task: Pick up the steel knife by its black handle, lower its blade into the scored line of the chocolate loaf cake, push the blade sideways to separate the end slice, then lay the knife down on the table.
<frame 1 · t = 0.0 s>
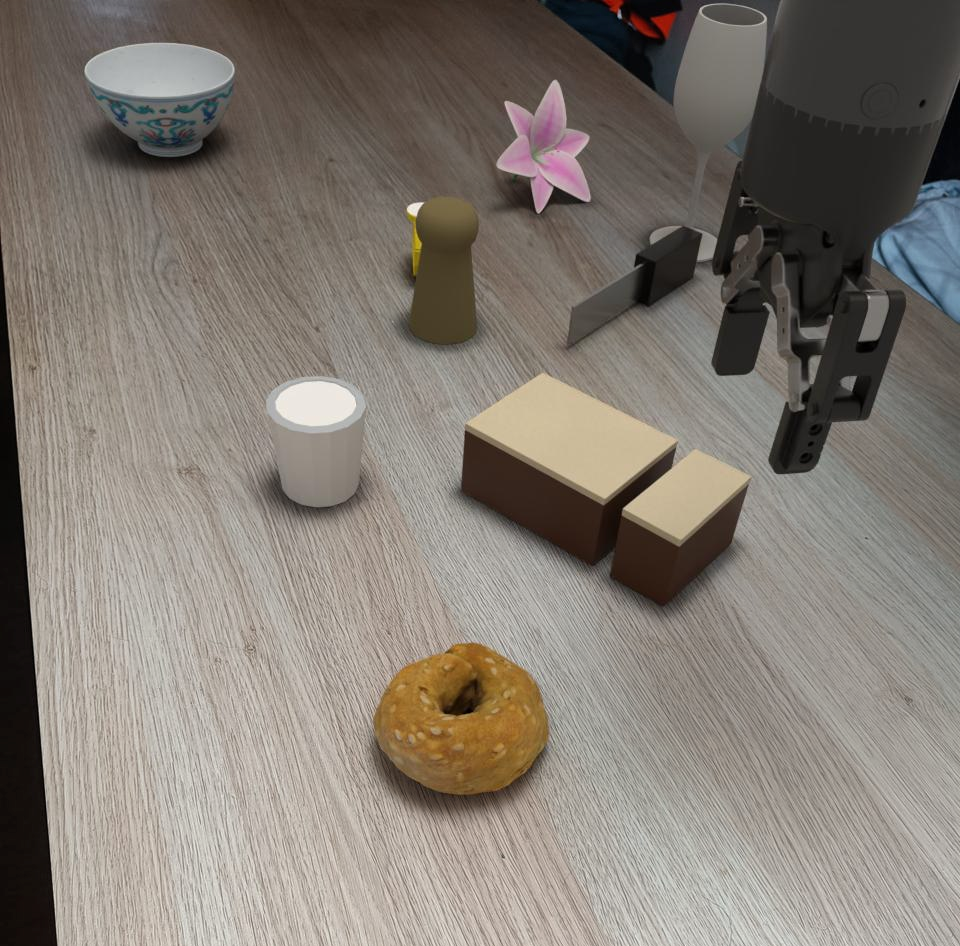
hand: (758, 417, 56), 19 cm above the worktop, tool pointing down, fingers open, 8 cm apart
wineglass: (684, 246, 111), on the worktop
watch: (420, 271, 104), on the worktop
chess pawn piece: (442, 327, 97), on the worktop
cup of milk: (320, 485, 81), on the worktop
cake loaf: (561, 498, 81), on the worktop
lily: (538, 196, 116), on the worktop
cake slice: (671, 559, 77), on the worktop
chinaware: (171, 146, 119), on the worktop
bagel: (462, 737, 66), on the worktop
knife: (631, 306, 101), on the worktop
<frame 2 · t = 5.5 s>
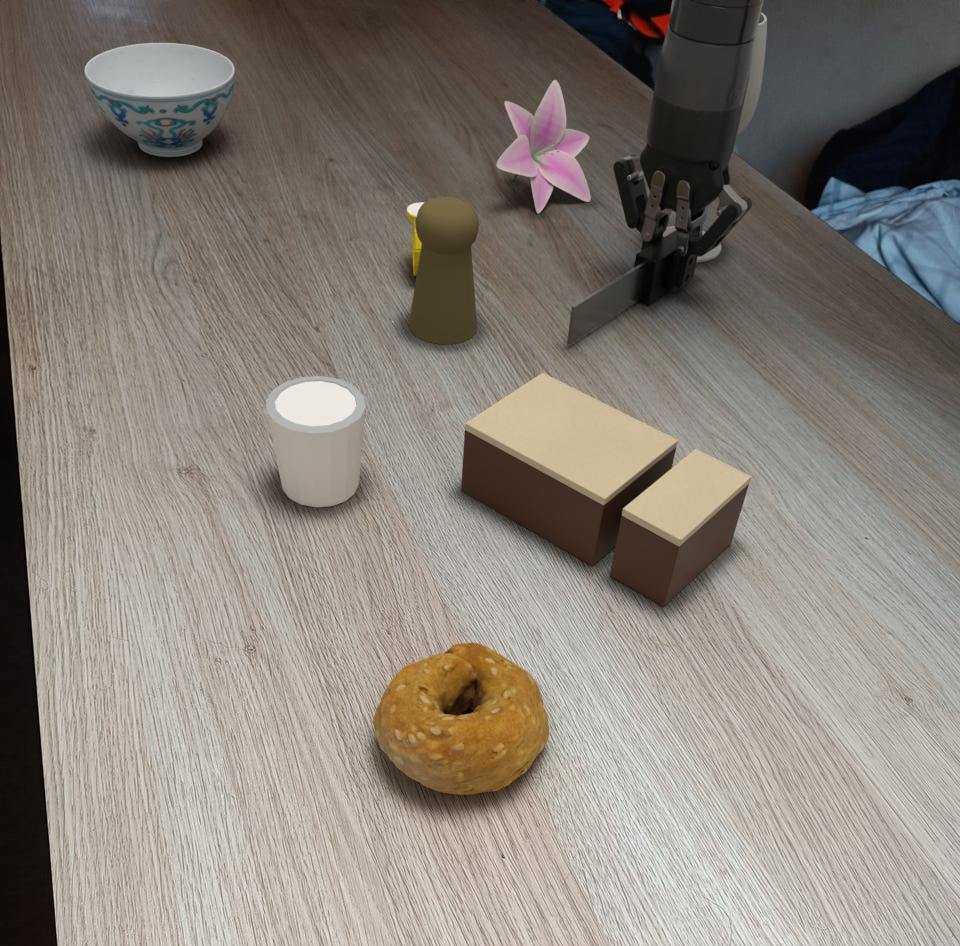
hand: (662, 281, 104), 1 cm above the worktop, tool pointing down, fingers closed on knife, 2 cm apart
knife: (631, 306, 101), on the worktop, touching gripper
everything else where it was.
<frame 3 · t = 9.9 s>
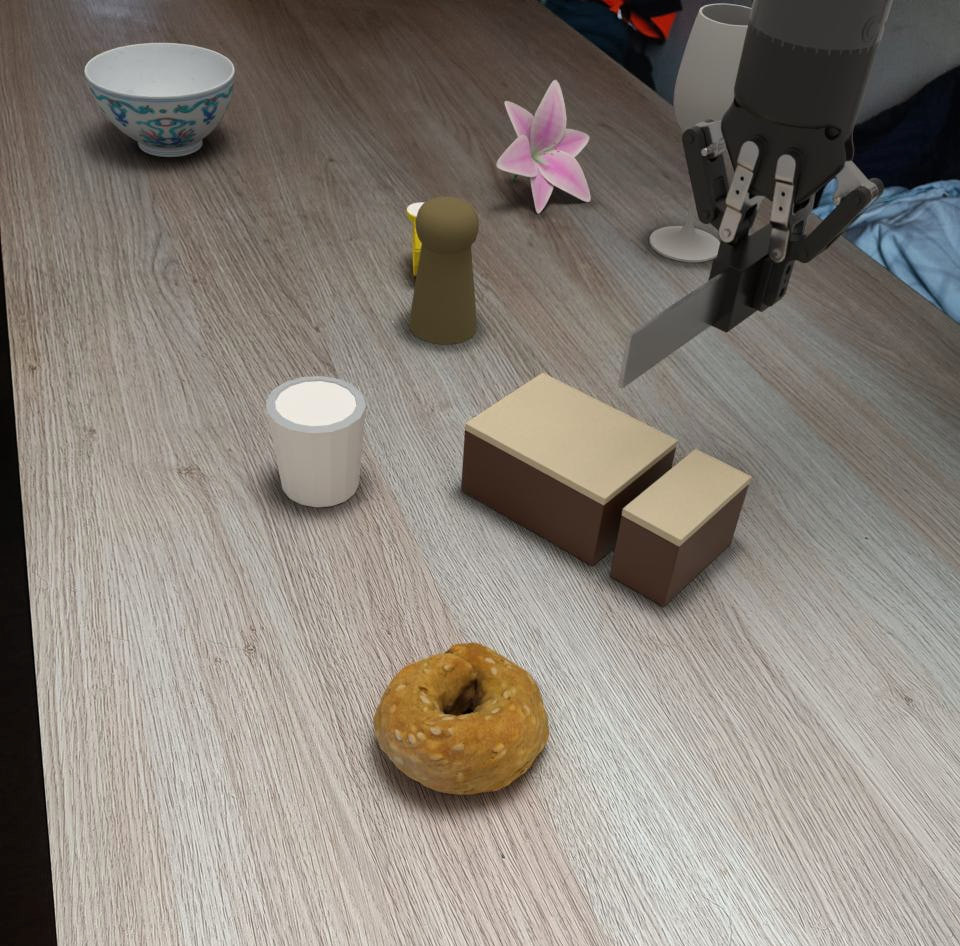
hand: (744, 297, 75), 14 cm above the worktop, tool pointing down, fingers closed on knife
knife: (704, 332, 73), point 14 cm above the worktop, touching gripper
everything else where it was.
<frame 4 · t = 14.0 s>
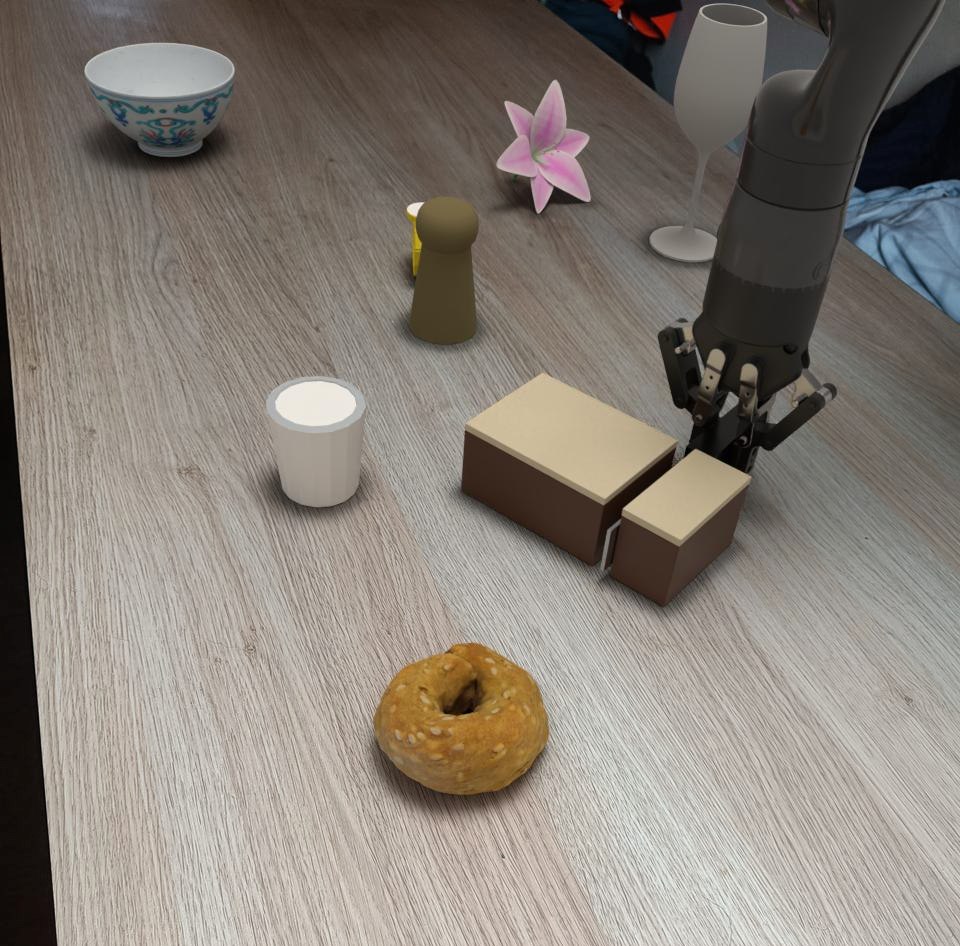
hand: (716, 469, 83), 1 cm above the worktop, tool pointing down, fingers closed on knife, 2 cm apart
knife: (679, 507, 81), point 1 cm above the worktop, touching gripper
everything else where it was.
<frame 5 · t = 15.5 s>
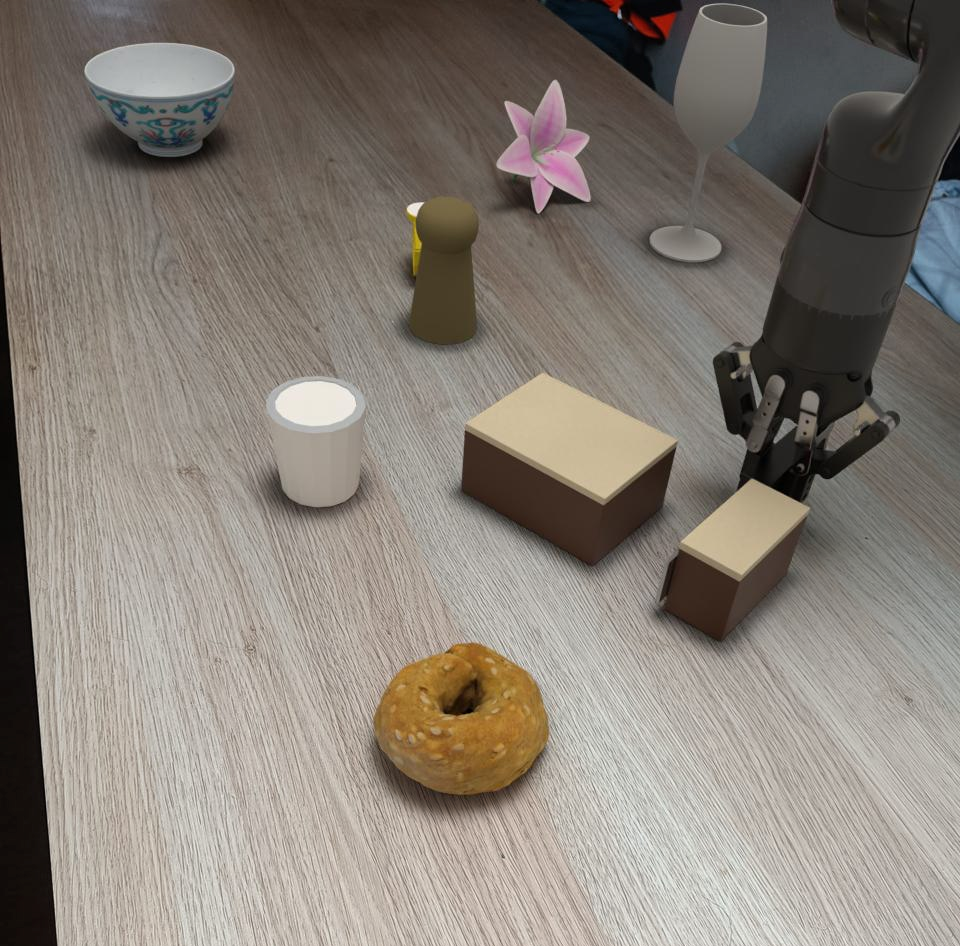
hand: (769, 496, 81), 1 cm above the worktop, tool pointing down, fingers closed on knife, 2 cm apart
cake slice: (726, 591, 76), on the worktop, touching knife
knife: (732, 535, 79), point 1 cm above the worktop, touching cake slice, gripper
everything else where it was.
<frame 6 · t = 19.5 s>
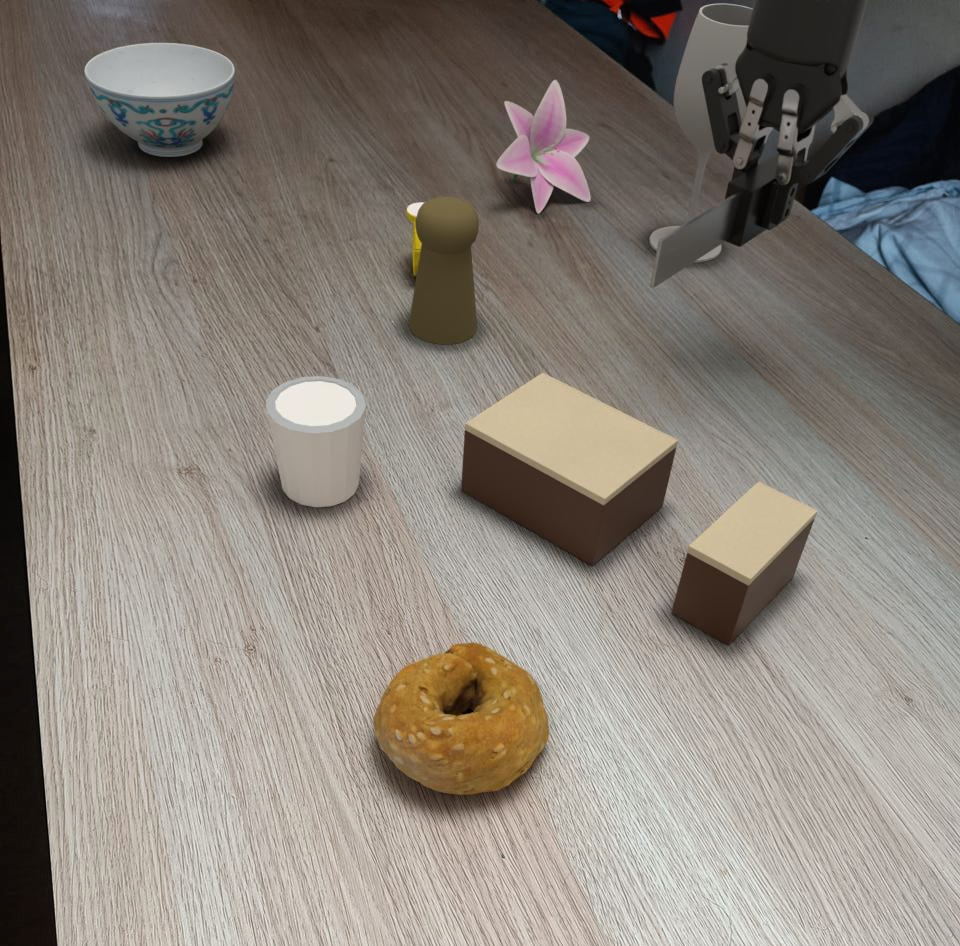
hand: (754, 218, 87), 12 cm above the worktop, tool pointing down, fingers closed on knife
cake slice: (733, 594, 75), on the worktop
knife: (721, 246, 85), point 12 cm above the worktop, touching gripper
everything else where it was.
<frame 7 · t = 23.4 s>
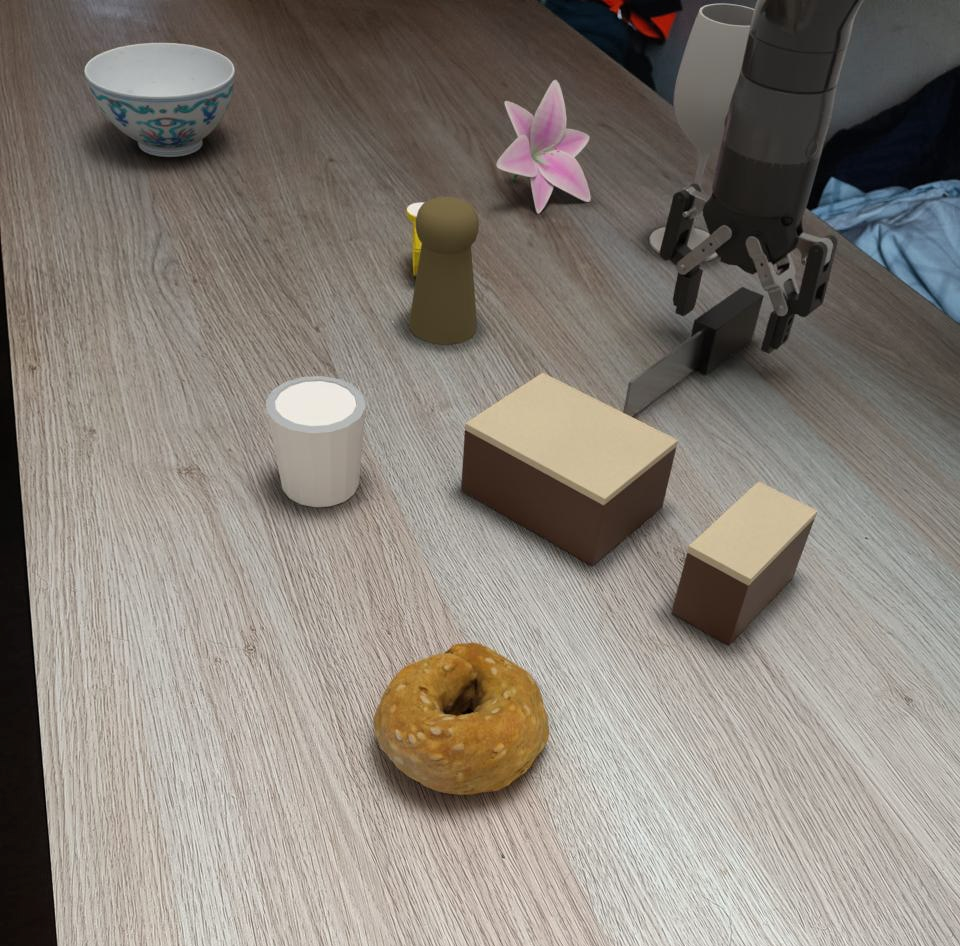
hand: (726, 330, 95), 2 cm above the worktop, tool pointing down, fingers open, 8 cm apart
knife: (688, 375, 94), on the worktop
everything else where it was.
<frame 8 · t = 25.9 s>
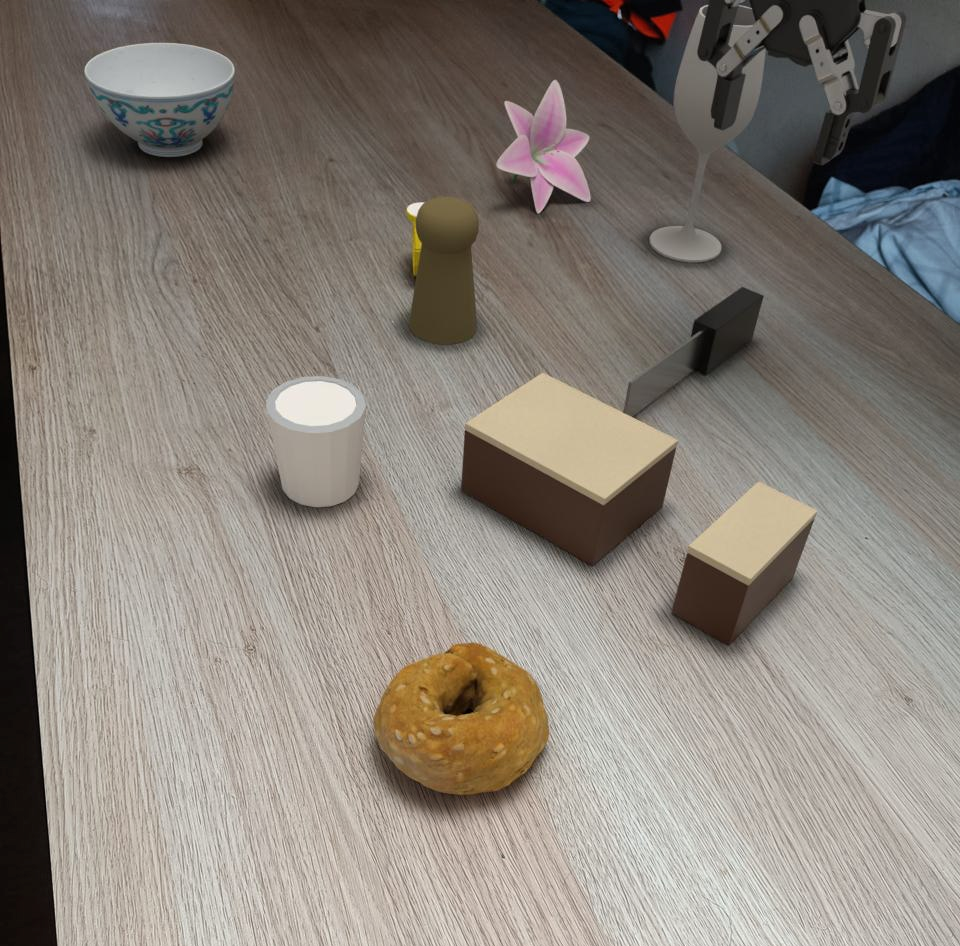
hand: (771, 143, 84), 18 cm above the worktop, tool pointing down, fingers open, 8 cm apart
nothing on the worktop moved.
at the end: cake slice moved 5.1 cm from its start; cake slice tilted 0°; knife inside the target area (0.1 cm from its centre), on the worktop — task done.
